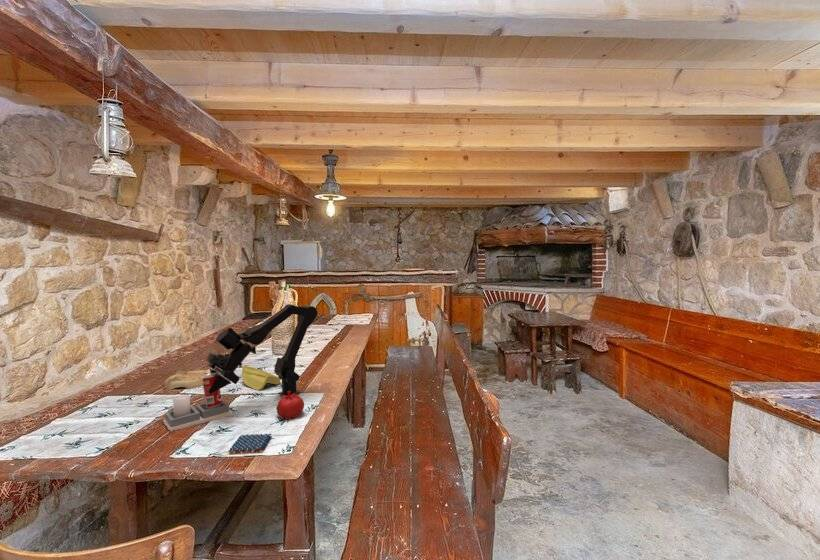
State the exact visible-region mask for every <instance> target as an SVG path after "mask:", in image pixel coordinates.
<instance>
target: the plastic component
mask: <svg viewBox="0 0 820 560" xmlns="http://www.w3.org/2000/svg"><path fill="white" fill-rule="evenodd" d="M241 377H242V381H243V383H244V384H245V386H247V387H249V388H252V389H254V390H255V391H261V390H263V389H264V388H265V386H266V385H267V384H271V385H276V386H279V385H280V383H281V381H282V379H279V376H278V375H276V374H275V375H274V374H272V373H269V372H267V371H264V370H262V369H259V368H255V367H252V366H249V365H242V370H241ZM278 384H279V385H278Z"/></svg>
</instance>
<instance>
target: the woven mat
mask: <svg viewBox="0 0 820 560" xmlns="http://www.w3.org/2000/svg"><path fill="white" fill-rule="evenodd" d="M271 435H272V433H265V434H262V433H259V434H258V433H257V434H253V433H252V434H241V435H240V436H239V437H238V438H237V439H236V440H235V442H234V443H233V444H232V446H231V448H229V449H228V453H229V455H232V454H233V455H235V454H236V455H239V454H247V453H248V454H250V453H251V454H254V453H255V454H257V453H258V452H259V453H263V451H265V449H266V447H267V446H268V444H269V443H270V440H271V439H272V438H273V436H271Z"/></svg>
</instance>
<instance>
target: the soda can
mask: <svg viewBox="0 0 820 560" xmlns="http://www.w3.org/2000/svg"><path fill="white" fill-rule="evenodd" d="M216 379H217V373H211V374H207V375H204V376H203V391H204V399H205V403H206V407H207V408H208V409H210V408H216V407H219V406H221V404H222V400H223V399H222V395H221V389H219V390H217V391H215V392H213V393H211V394H210V393H208V391H209V390H210V388H211V387H212V385H213V384H214V382H215V381H216ZM221 399H222V400H221Z"/></svg>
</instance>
